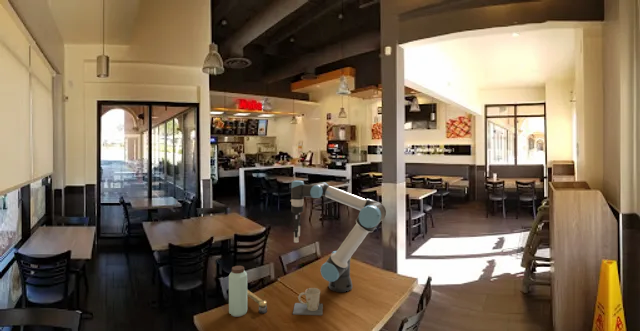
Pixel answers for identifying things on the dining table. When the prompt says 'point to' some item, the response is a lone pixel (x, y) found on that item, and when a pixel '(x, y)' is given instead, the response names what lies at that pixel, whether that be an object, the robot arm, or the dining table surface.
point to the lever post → (263, 310)
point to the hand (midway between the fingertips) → (297, 239)
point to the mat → (306, 310)
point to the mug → (311, 298)
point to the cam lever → (257, 299)
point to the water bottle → (238, 291)
